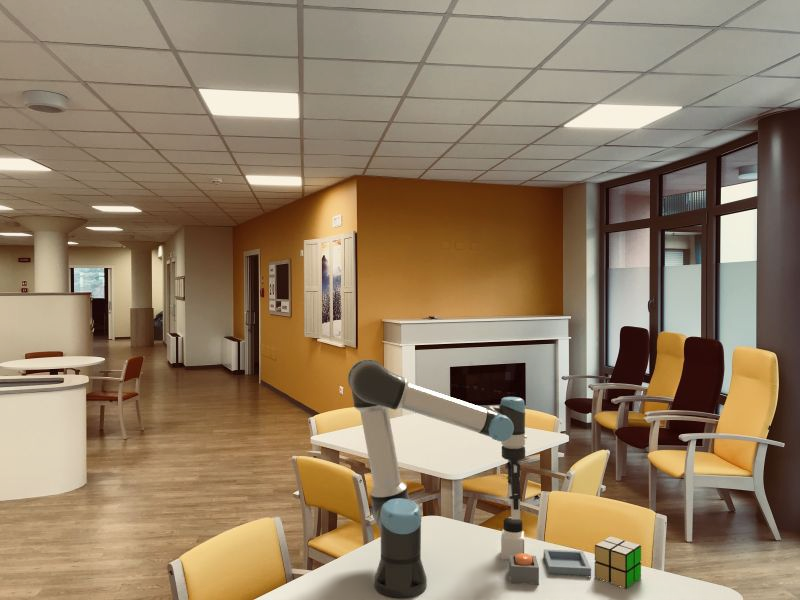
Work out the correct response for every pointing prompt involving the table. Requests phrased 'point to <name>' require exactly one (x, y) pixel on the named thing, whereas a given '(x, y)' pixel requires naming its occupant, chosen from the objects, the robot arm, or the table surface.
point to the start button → (523, 559)
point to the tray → (567, 563)
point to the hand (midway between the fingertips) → (513, 511)
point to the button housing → (524, 572)
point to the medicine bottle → (512, 538)
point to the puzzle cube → (618, 561)
